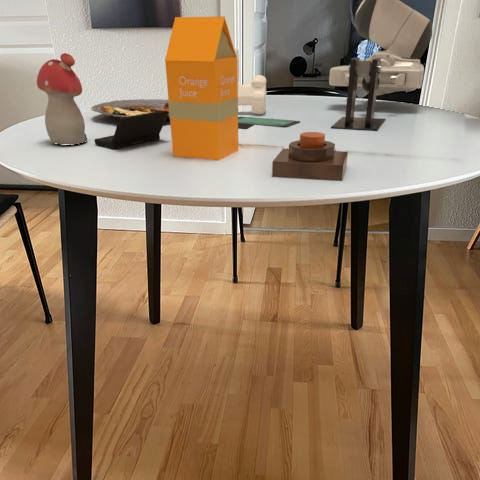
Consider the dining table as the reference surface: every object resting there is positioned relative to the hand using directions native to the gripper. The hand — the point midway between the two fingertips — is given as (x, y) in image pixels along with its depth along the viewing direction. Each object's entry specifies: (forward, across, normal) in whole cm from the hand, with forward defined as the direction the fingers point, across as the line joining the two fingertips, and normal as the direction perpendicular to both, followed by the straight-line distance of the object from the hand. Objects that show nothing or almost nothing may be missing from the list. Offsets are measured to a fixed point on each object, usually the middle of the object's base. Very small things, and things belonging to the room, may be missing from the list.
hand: (371, 80), depth 105 cm
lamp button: (+44, -2, +5) cm, 45 cm away
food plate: (+9, -50, +8) cm, 51 cm away
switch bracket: (+10, 0, +8) cm, 13 cm away
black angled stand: (+35, -38, +8) cm, 52 cm away
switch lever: (+5, 0, +1) cm, 5 cm away
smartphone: (+13, -20, +8) cm, 25 cm away
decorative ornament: (+38, -49, +8) cm, 63 cm away
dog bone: (-1, -31, +8) cm, 32 cm away
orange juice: (+38, -21, +8) cm, 45 cm away
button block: (+44, -2, +8) cm, 45 cm away
